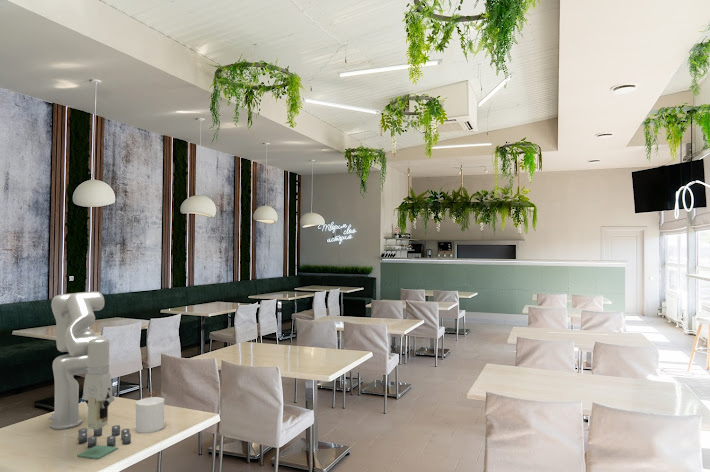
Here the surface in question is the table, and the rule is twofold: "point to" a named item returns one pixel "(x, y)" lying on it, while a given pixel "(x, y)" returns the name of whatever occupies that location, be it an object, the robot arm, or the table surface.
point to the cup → (149, 414)
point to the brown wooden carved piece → (150, 395)
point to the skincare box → (95, 414)
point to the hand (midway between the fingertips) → (98, 416)
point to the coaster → (97, 452)
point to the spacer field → (110, 440)
